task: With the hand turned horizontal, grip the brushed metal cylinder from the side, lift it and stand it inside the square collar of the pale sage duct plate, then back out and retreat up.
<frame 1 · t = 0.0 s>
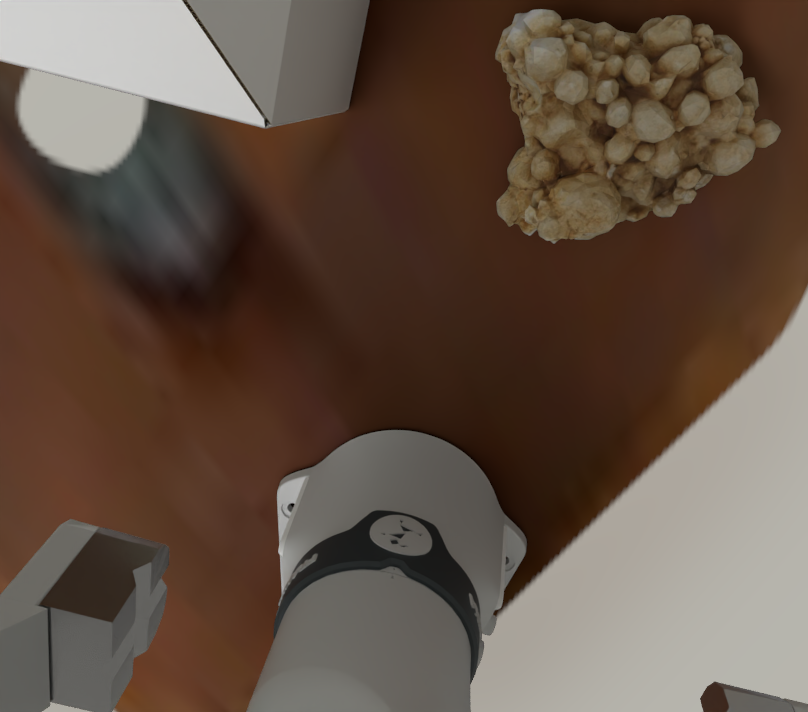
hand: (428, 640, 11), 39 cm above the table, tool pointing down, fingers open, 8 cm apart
mineral formation: (619, 126, 45), on the table
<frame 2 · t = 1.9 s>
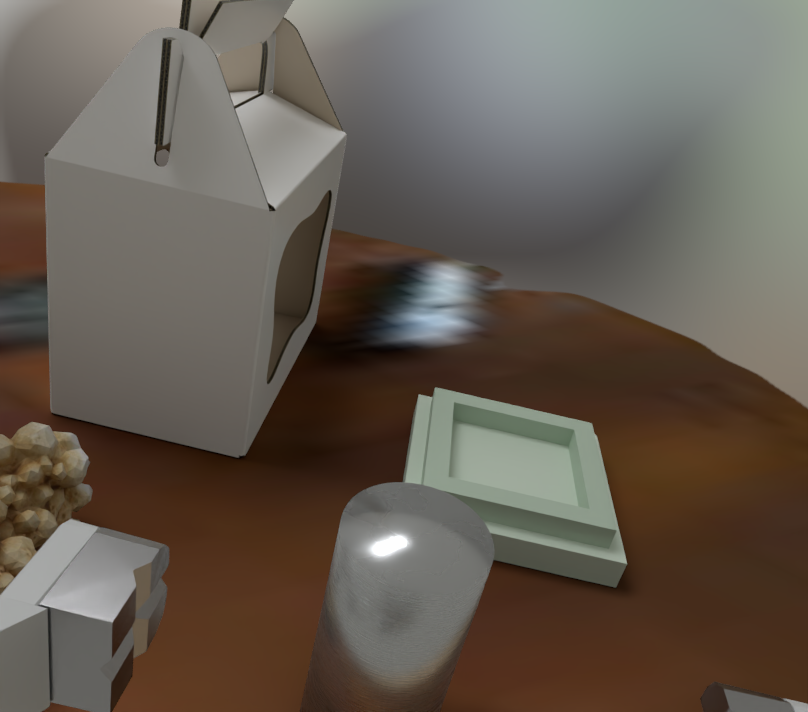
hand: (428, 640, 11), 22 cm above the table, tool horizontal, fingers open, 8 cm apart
duct plate: (502, 491, 52), on the table
gable box: (203, 364, 59), on the table
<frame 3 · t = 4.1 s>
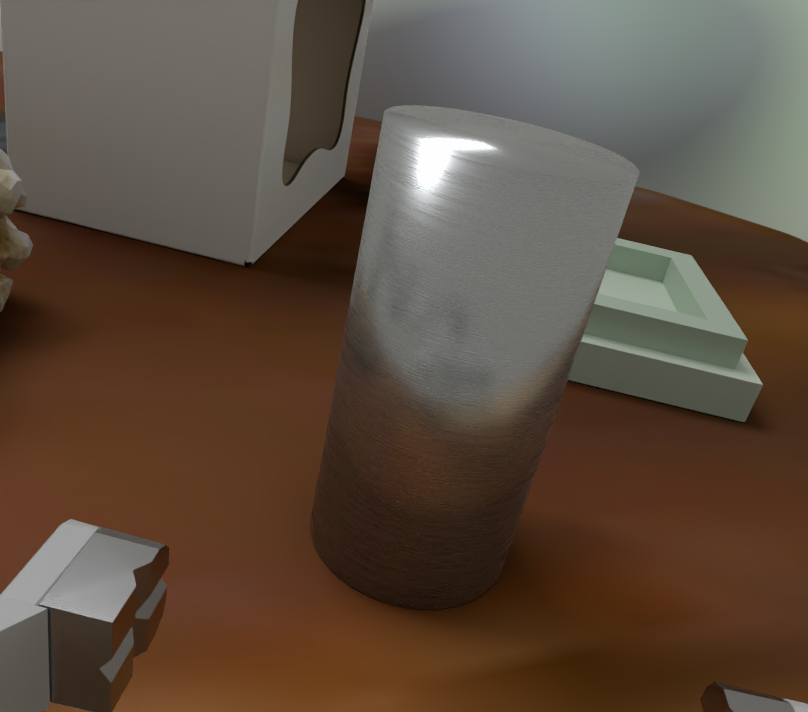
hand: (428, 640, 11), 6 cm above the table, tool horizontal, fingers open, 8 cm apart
duct plate: (581, 325, 40), on the table
brushed metal cylinder: (408, 533, 23), on the table
gable box: (208, 193, 48), on the table
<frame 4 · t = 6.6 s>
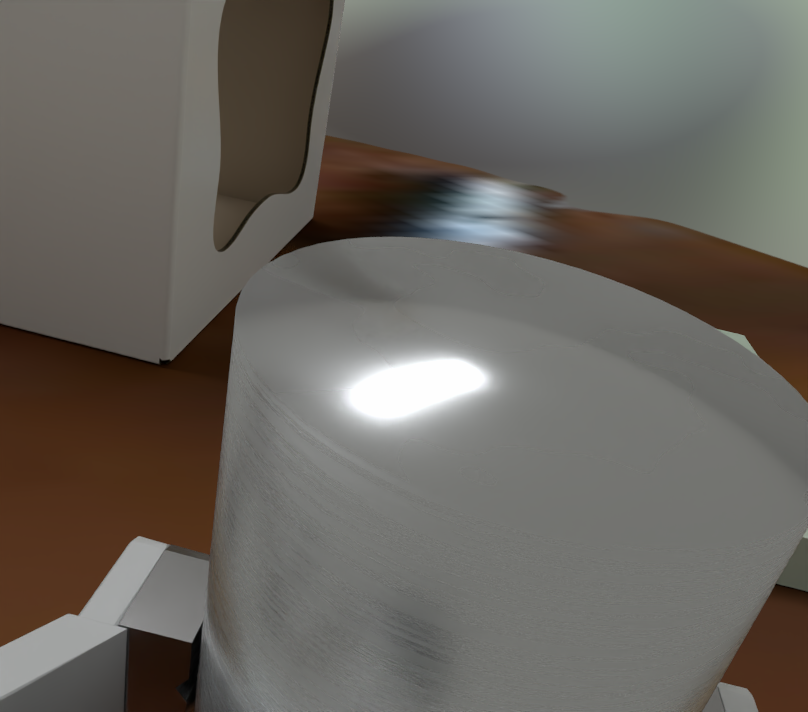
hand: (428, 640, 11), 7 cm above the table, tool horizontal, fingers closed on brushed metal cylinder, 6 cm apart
duct plate: (606, 435, 31), on the table
gable box: (136, 249, 39), on the table
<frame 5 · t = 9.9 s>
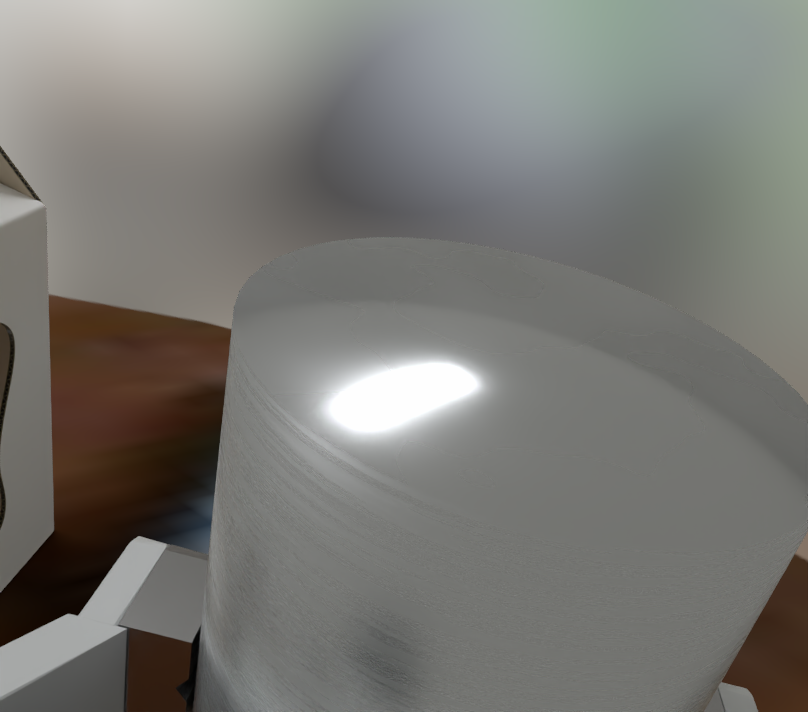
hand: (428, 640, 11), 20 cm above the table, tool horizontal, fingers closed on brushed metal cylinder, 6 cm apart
when the fingers open (9 cm above the table, at t = 13.3 s): brushed metal cylinder stays where it is, resting on duct plate.
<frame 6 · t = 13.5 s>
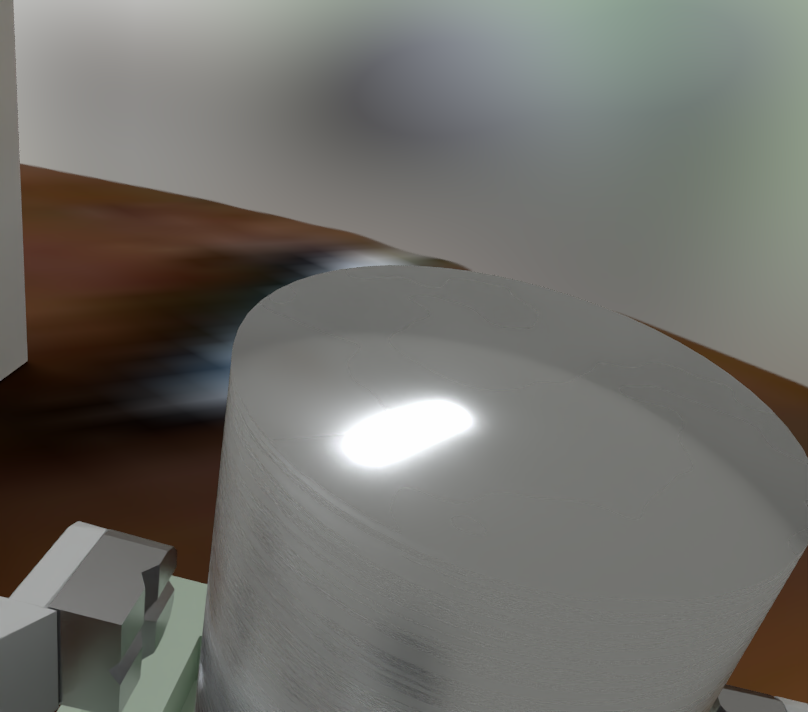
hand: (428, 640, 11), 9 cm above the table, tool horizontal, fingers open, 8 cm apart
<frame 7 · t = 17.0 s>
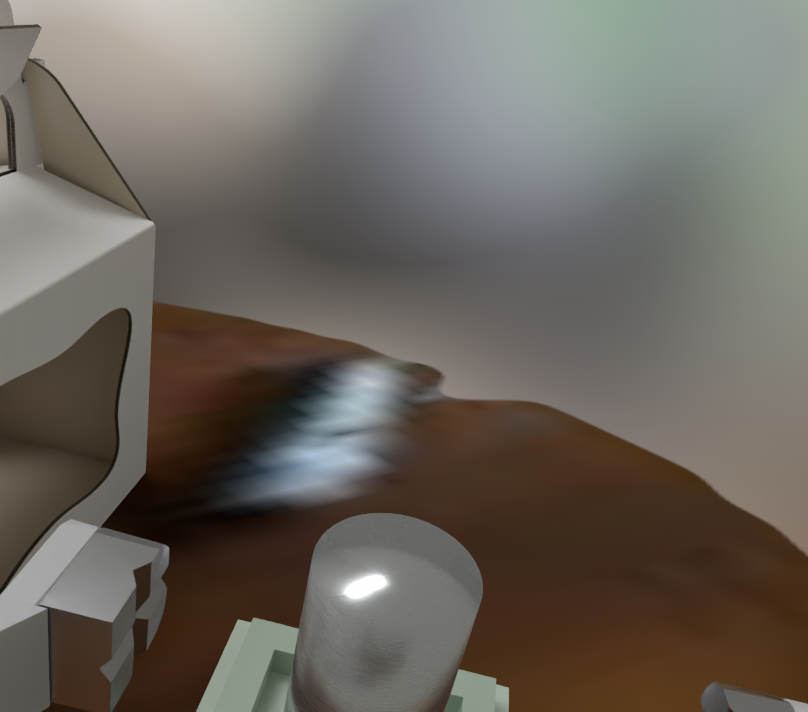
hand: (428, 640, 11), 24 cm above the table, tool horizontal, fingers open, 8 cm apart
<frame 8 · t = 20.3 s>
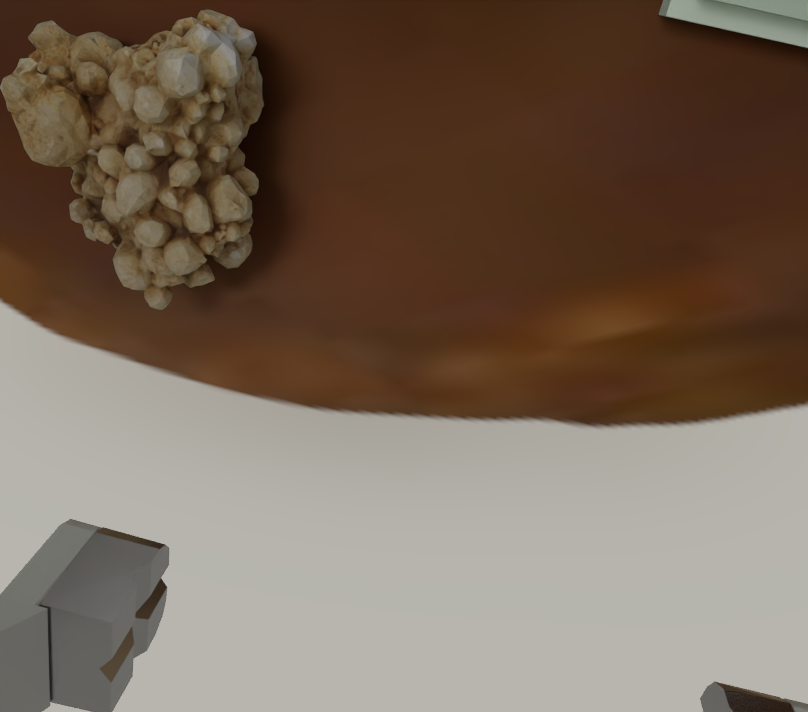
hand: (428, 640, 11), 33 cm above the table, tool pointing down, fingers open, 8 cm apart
mineral formation: (178, 154, 43), on the table
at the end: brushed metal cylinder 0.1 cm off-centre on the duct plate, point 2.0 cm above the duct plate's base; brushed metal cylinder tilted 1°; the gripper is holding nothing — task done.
